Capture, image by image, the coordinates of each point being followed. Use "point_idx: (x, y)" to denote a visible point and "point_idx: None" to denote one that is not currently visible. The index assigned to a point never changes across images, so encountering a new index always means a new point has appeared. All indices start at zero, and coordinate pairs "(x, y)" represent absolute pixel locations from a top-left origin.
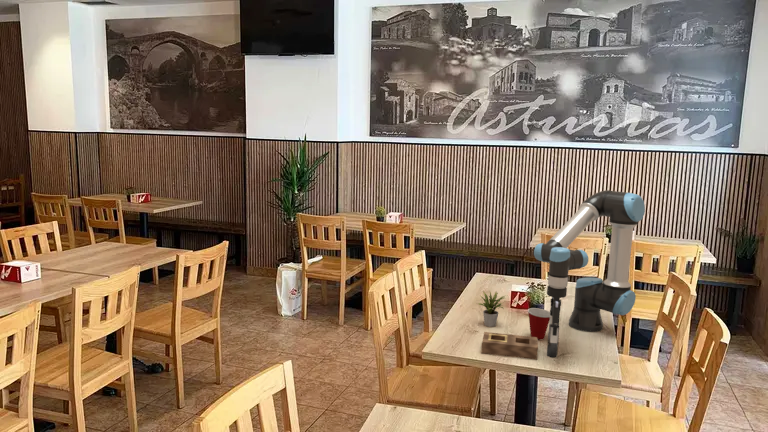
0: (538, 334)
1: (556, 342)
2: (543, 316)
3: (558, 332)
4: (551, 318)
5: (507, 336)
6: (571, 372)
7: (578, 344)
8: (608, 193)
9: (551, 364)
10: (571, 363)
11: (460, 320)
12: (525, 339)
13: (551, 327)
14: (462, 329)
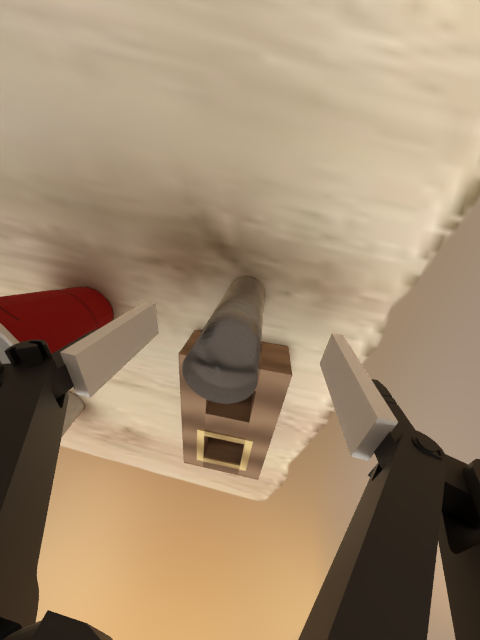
0: (101, 319)
1: (342, 340)
2: None
3: (245, 325)
4: (101, 376)
5: (201, 428)
6: (420, 250)
7: (81, 141)
8: None
9: (329, 311)
10: (320, 229)
11: (81, 440)
12: None
13: (365, 452)
14: (131, 447)
